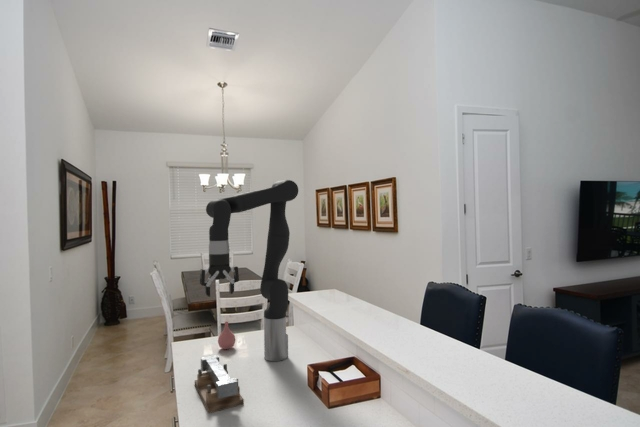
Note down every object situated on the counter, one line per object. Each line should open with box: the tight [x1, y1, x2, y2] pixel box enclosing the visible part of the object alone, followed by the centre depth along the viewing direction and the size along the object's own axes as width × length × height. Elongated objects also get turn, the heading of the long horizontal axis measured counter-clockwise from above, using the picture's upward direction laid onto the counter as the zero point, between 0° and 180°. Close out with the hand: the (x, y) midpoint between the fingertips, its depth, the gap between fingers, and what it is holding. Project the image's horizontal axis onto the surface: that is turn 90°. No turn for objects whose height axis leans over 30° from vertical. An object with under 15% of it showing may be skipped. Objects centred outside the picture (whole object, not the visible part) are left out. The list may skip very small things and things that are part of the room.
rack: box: [194, 363, 245, 414], centre depth 127 cm, size 11×22×6 cm, turn 29°
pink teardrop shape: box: [217, 321, 236, 350], centre depth 170 cm, size 8×8×12 cm
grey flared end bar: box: [200, 354, 239, 399], centre depth 128 cm, size 6×26×4 cm, turn 29°
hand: (219, 294), depth 144 cm, fingers open, 8 cm apart
